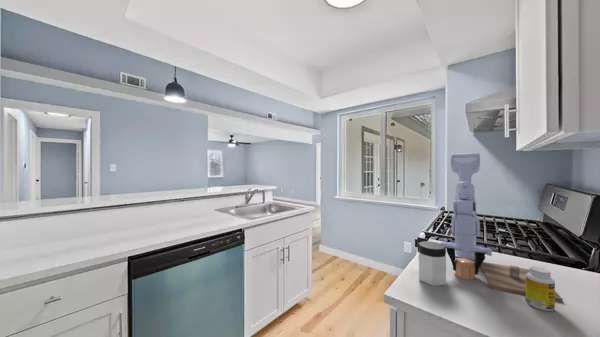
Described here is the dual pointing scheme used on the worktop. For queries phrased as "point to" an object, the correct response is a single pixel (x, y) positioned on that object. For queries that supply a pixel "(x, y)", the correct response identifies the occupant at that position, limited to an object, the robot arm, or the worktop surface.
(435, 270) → the jar
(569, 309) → the worktop surface
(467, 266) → the brown rounded block
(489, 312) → the worktop surface
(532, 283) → the supplement bottle
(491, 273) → the post board
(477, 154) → the robot arm
